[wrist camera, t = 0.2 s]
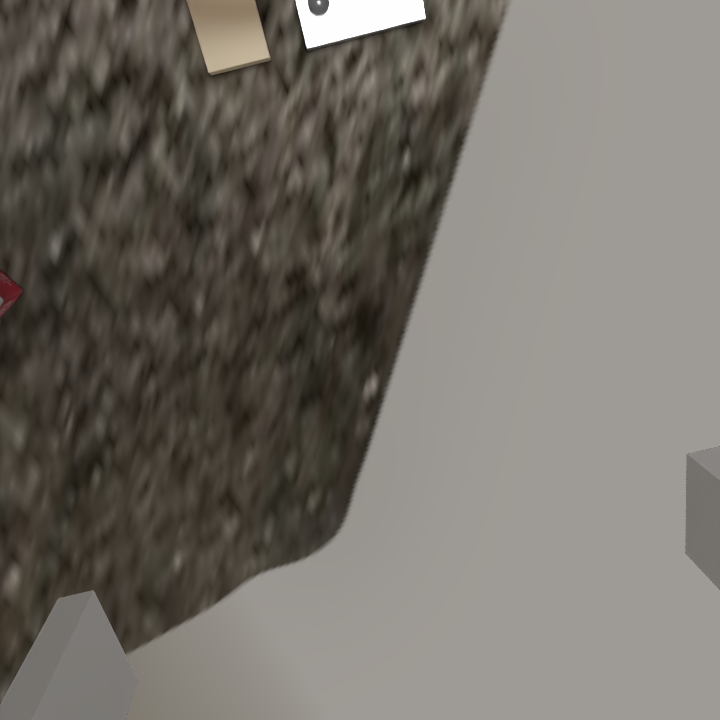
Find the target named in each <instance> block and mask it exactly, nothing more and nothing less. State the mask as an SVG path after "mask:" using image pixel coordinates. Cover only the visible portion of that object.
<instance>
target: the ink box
mask: <svg viewBox="0 0 720 720" xmlns="http://www.w3.org/2000/svg"><path fill="white" fill-rule="evenodd" d="M22 292H23V290H22V288H20V287H19V286H18V285H17V284H16V283H15V282H14V281H12V280H11V279H10V278H9V277H8V276H6V275H5V274H4V273H3V272H2V271H1V270H0V318H1V317H2V316H3V315H4V314H5V312H6V311H7V310H8V309H9V308H10V307H11V306H12V305H13V304H14V302H15V301H16V300H17V299H18V298H19V296H20V295H21V294H22Z"/></svg>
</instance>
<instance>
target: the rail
mask: <svg viewBox="0 0 720 720" xmlns="http://www.w3.org/2000/svg"><path fill="white" fill-rule="evenodd" d="M187 3H188V6H189V10H190V13H191V16H192V20H193V23H194V26H195V30H196V33H197V36H198V40H199V43H200V46H201V50H202V53H203V56H204V60H205V63H206V66H207V69H208V73H209V74H211V75H216V74H220V73H224V72H227V71H231V70H235V69H239V68H243V67H247V66H251V65H255V64H259V63H263V62H267V61H271V58H270V55H269V51H268V47H267V43H266V39H265V36H264V32H263V28H262V24H261V20H260V17H259V13H258V9H257V5H256V1H255V0H187Z"/></svg>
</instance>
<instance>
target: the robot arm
mask: <svg viewBox="0 0 720 720" xmlns="http://www.w3.org/2000/svg"><path fill="white" fill-rule="evenodd" d="M686 475H687V476H686V546H685V553H686V555H687V556H688V557H689V558H690V559H691V560H692V561H693V562H694V563H695V564H696V565H697V566H698V567H699V568H700V569H701V570H702V572H703V573H704V574H705V575H706V576H707V577H708V578H709V579H710V580H711V581H712V582H713V583H714V584H715V585H716V587H717V588H718V589H719V590H720V446H719V447H714V448H710V449H706V450H701V451H697V452H693V453H688V454H687V471H686ZM137 682H138V679H137V677H136V675H135V673H134V672H133V670H132V667H131V665H130V663H129V661H128V659H127V657H126V655H125V653H124V651H123V649H122V647H121V645H120V643H119V641H118V639H117V637H116V635H115V633H114V631H113V629H112V627H111V625H110V623H109V621H108V619H107V617H106V615H105V613H104V611H103V609H102V606H101V604H100V602H99V600H98V598H97V596H96V594H95V592H94V590H92V591H88V592H84V593H79V594H75V595H71V596H66V597H62V598H58V600H57V602H56V604H55V605H54V607H53V609H52V611H51V613H50V615H49V616H48V618H47V620H46V622H45V624H44V626H43V627H42V629H41V631H40V633H39V635H38V637H37V638H36V640H35V642H34V644H33V646H32V648H31V649H30V651H29V653H28V655H27V657H26V659H25V660H24V662H23V664H22V666H21V668H20V669H19V671H18V673H17V675H16V677H15V679H14V680H13V682H12V684H11V686H10V688H9V690H8V691H7V693H6V695H5V697H4V699H3V701H2V702H1V704H0V720H126V717H127V714H128V711H129V707H130V704H131V701H132V698H133V695H134V691H135V688H136V685H137Z"/></svg>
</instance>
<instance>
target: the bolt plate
mask: <svg viewBox="0 0 720 720" xmlns="http://www.w3.org/2000/svg"><path fill="white" fill-rule="evenodd" d="M295 3H296V7H297V11H298V15H299V19H300V23H301V28H302V32H303V36H304V40H305V44H306V48H307V51H310V50H314V49H318V48H322V47H326V46H329V45H333V44H337V43H341V42H345V41H349V40H353V39H357V38H361V37H365V36H369V35H373V34H377V33H381V32H384V31H388V30H392V29H396V28H400V27H404V26H408V25H412V24H416V23H420V22H423V20H424V19H425V12H424V6H423V0H295Z"/></svg>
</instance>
